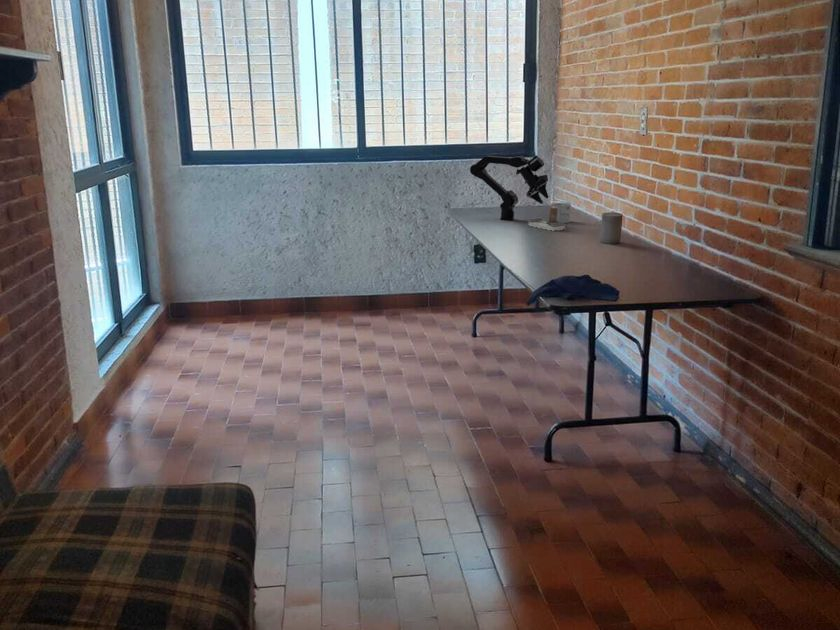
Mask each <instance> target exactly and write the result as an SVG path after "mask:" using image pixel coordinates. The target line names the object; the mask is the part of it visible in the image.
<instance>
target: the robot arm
mask: <svg viewBox="0 0 840 630" xmlns="http://www.w3.org/2000/svg"><path fill="white" fill-rule="evenodd" d="M489 164H496V165H497V164H498V165H508V166H510V167H512V168H513V167H514V168H515V169H516V168H517V170H516V173H515V174H516V176H517V175H520V176H521V177H522V178H523V179H524V184H525V185H527V186H528V190H527V191H526V195H525V196H526V197H527V198H529V199H532V200H534V201H535V202H537V203H539V204H540V205H543V204H544V202H543V200H542V198H541V196H542V197H544V198H545V199H549V194H548V190H547V184H548V182H549V177H548V175H547V174H542V175H537V174H534V173H535V172H537V171H539V170H540V169H542V167H544V166H545V163H544V161H543V159H541V158H540V157H539V156H538V154H537V155H535V156H534V157H533V158H531V159H526V158H525V156H523V155H520V156H511V157H510V156H509V157H507V156H495V155H491V154H489V155H485V156H483V157H482V158H481V159H480V160H479V161H477V162H476V163H475V164H472V165H471V166H469V167H470V169H469V172H470V174H471V175H473V176H474V177H476V178H478V179H480V180H482V181H483V182H484V183H486V185H487V186H489V187H490V188H491V189H492V190H493V191H494V192H495V193H496V194H497V195H499V197H500V198H501V201H502V202H501V204H500V205H499V206H500V209H501V212H500V218H499V219H500V220H501V219H504V221H513V220H514V219H515V210H514V208H515V207H516V205H517V204H518V203H519V197H518V194H517V193H515V192H514V191H513V190H512V189H511V190H507V189H505V187H503V186H502V185H501V184H500V183H499V182H498V181H496V179H494V177H492V176H491V175H490V174H489V173H488V171H487V169H486V168H487V167H488V165H489ZM519 168H520V169H519ZM540 194H541V196H540ZM512 219H513V220H512Z"/></svg>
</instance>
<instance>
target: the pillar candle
mask: <svg viewBox="0 0 840 630" xmlns="http://www.w3.org/2000/svg"><path fill="white" fill-rule="evenodd" d="M622 226H623V213H619V212H613V211H612V212H609V211H608V212H602V213H601V224H600V235H599V242H600V243H602V242H603V243H602V244H606V243H608V244H607V245H616V243H618V244H621V236H622V229H623V227H622Z"/></svg>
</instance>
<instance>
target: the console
mask: <svg viewBox="0 0 840 630" xmlns="http://www.w3.org/2000/svg"><path fill="white" fill-rule="evenodd" d="M565 225H566V222H558V223H552V225H548V224H547V221H544V220H543V217H540V216H539V217H533V218H528V227H531V226H533V227H532V228H536V227H537V229H541V228H542V230H545V229H547V231H550V230H552V231H551V232H555V230H557V231H564V230H565V227H566V226H565ZM563 229H564V230H563Z"/></svg>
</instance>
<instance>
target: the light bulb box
mask: <svg viewBox="0 0 840 630" xmlns="http://www.w3.org/2000/svg"><path fill="white" fill-rule="evenodd" d="M553 203H555V204H558V208H557V221H558V222H565V223H570V219H571V204H572V203H571V202H570V201H560V200H559V201H558V200H555V201H554V200H551V201H550V204H553Z"/></svg>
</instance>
